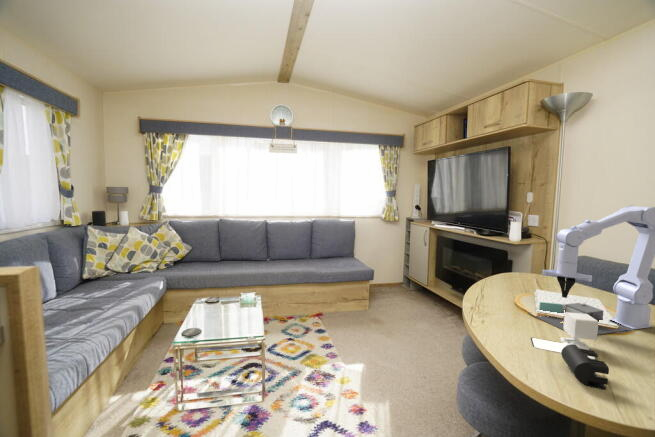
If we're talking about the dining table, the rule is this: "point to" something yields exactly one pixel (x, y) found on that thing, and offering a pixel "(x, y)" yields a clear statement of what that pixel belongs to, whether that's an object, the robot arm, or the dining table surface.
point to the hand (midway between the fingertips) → (564, 296)
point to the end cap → (585, 366)
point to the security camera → (579, 329)
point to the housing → (584, 310)
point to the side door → (552, 307)
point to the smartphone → (550, 346)
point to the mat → (556, 323)
